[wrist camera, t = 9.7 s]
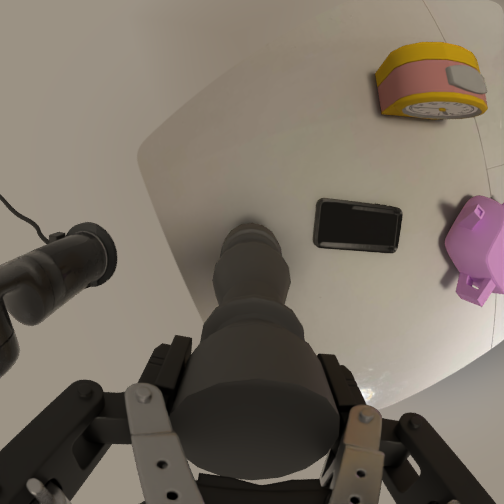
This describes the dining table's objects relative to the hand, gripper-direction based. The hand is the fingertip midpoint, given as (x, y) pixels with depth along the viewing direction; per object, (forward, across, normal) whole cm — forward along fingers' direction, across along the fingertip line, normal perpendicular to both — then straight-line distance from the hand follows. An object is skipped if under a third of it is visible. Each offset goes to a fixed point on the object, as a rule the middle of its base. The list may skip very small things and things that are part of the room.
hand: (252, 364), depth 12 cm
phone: (+34, -17, -4) cm, 39 cm away
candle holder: (+21, 0, 0) cm, 21 cm away
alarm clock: (+35, -23, -28) cm, 50 cm away
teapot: (+34, -43, -6) cm, 56 cm away
